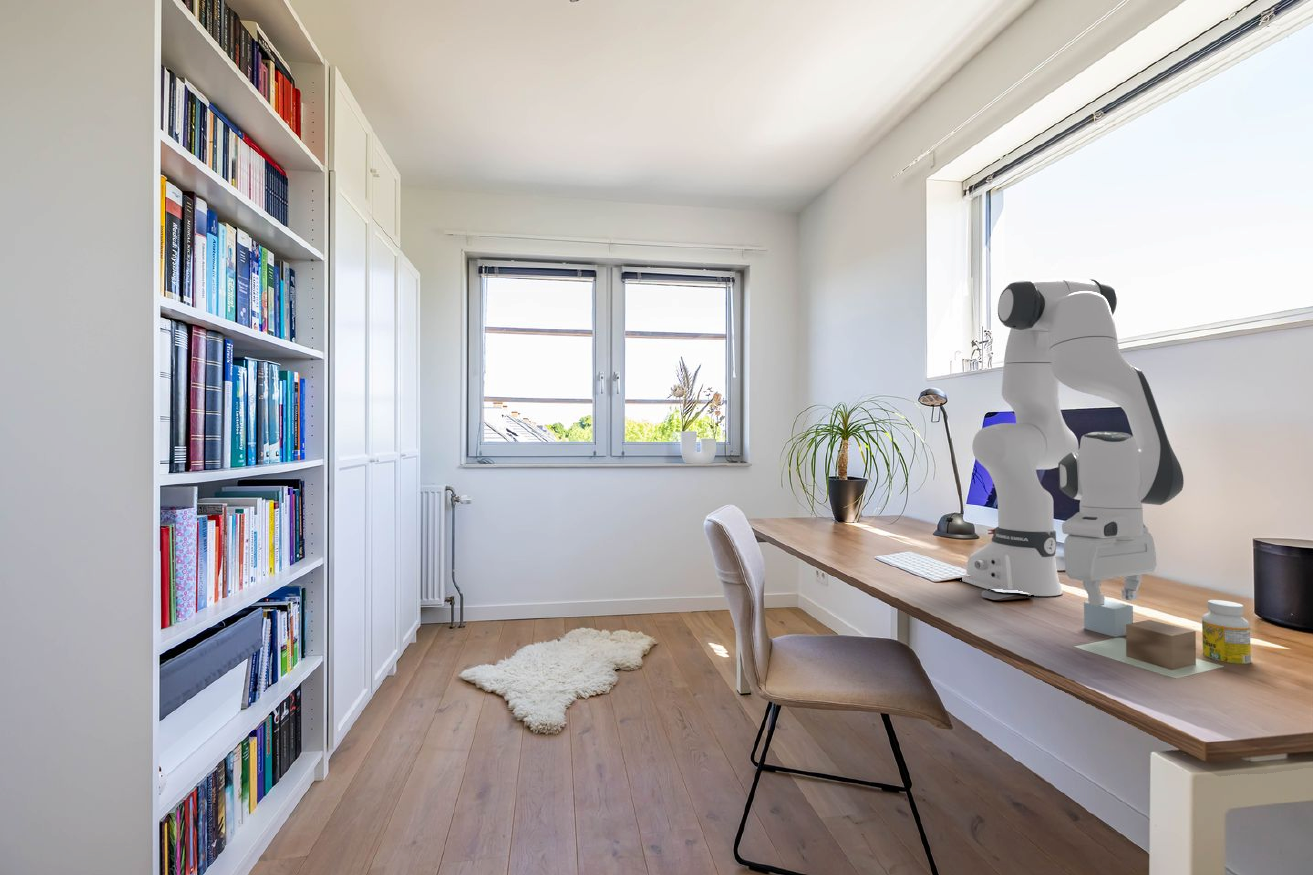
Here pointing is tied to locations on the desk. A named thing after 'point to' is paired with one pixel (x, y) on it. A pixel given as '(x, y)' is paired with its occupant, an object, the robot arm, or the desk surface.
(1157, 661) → the walnut block
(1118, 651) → the plate
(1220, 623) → the supplement bottle
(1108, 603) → the slate brick
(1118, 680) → the desk surface
